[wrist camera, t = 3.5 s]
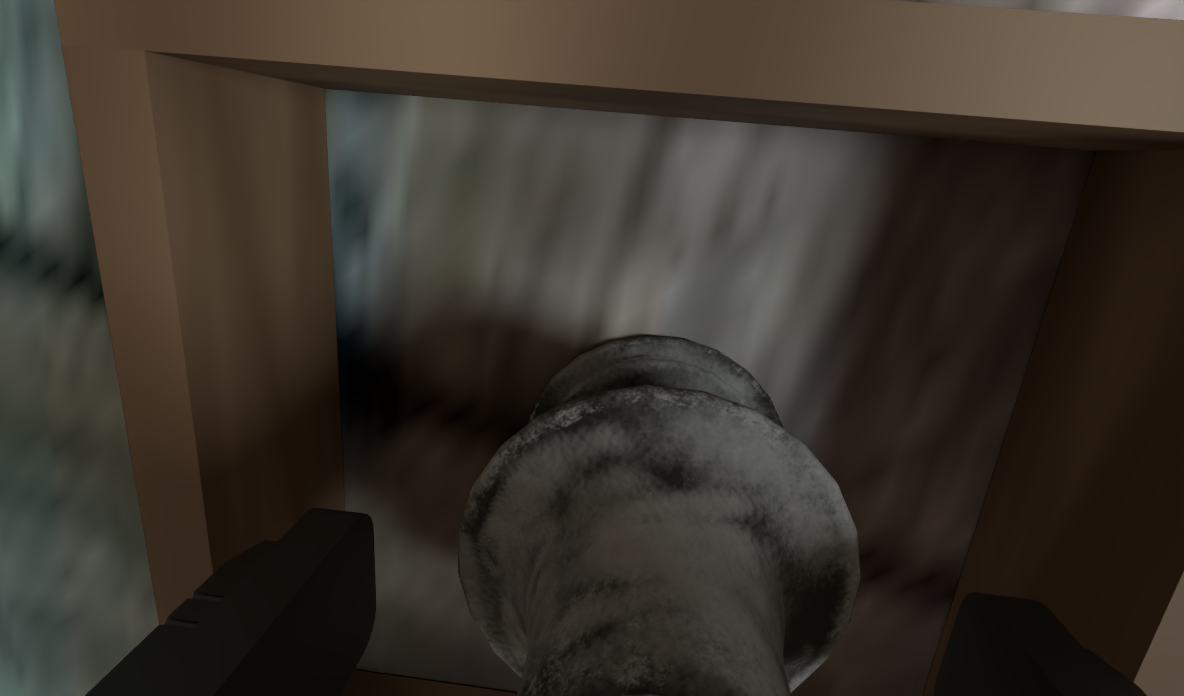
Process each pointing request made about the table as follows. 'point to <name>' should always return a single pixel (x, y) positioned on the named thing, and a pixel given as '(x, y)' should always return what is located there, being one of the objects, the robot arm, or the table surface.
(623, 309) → the table surface
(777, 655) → the stone chess piece
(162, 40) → the walnut crate
